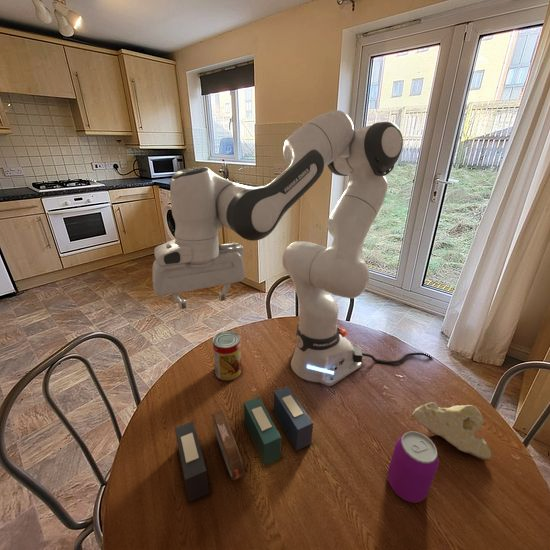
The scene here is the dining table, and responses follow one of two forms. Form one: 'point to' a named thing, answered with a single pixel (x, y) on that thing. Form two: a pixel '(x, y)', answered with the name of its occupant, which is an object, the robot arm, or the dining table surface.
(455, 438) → the cheese
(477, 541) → the dining table surface
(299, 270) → the robot arm
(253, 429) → the block
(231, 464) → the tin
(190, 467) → the block
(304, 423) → the block
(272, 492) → the dining table surface
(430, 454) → the beverage can
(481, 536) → the dining table surface
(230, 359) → the canned food
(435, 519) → the dining table surface
